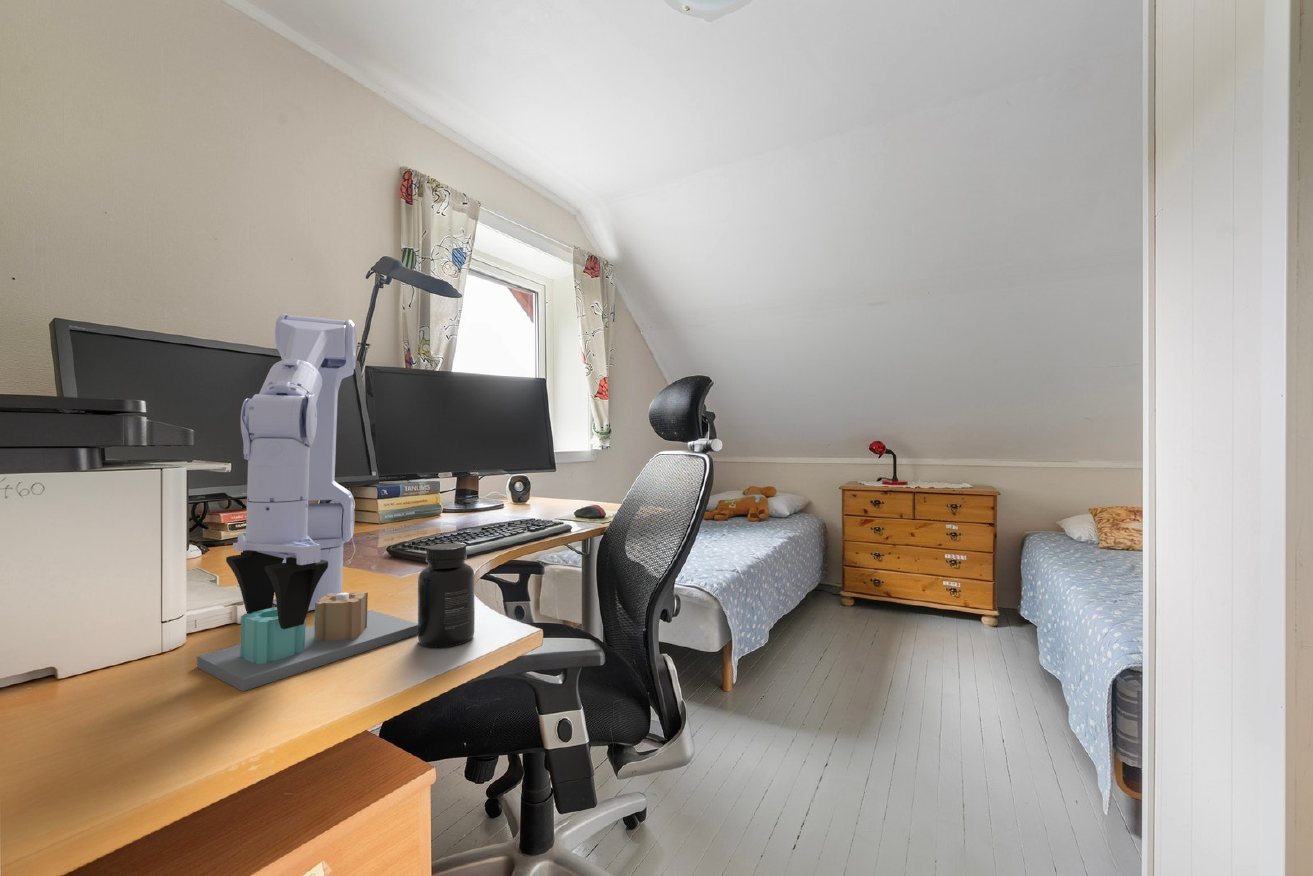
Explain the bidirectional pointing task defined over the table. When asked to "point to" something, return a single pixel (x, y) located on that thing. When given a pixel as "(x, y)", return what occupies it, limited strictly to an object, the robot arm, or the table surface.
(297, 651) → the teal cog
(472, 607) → the supplement bottle
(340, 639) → the gear board
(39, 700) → the table surface
